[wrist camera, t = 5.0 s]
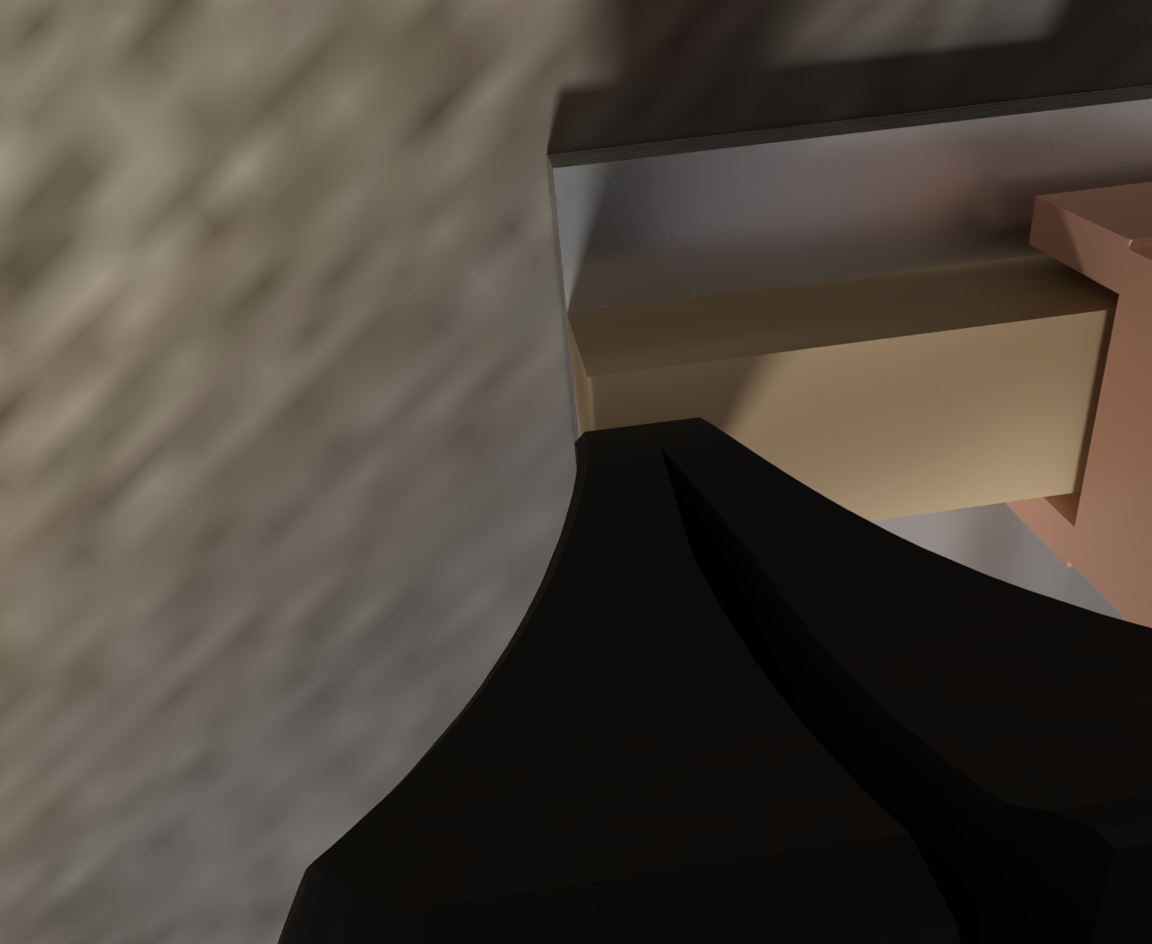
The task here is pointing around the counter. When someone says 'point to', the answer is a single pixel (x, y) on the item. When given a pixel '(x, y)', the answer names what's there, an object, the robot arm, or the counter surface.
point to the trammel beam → (873, 379)
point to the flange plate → (848, 234)
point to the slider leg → (1108, 398)
